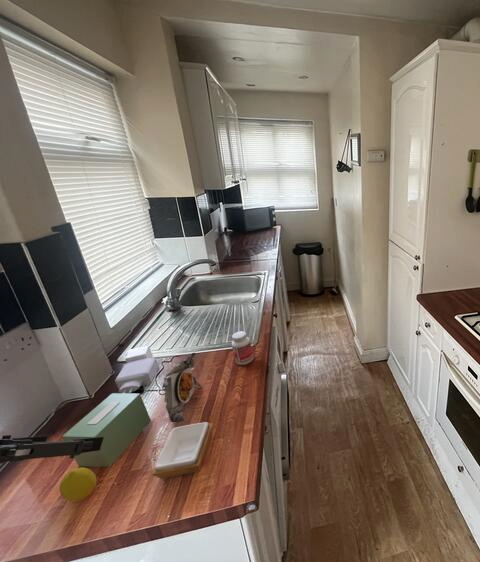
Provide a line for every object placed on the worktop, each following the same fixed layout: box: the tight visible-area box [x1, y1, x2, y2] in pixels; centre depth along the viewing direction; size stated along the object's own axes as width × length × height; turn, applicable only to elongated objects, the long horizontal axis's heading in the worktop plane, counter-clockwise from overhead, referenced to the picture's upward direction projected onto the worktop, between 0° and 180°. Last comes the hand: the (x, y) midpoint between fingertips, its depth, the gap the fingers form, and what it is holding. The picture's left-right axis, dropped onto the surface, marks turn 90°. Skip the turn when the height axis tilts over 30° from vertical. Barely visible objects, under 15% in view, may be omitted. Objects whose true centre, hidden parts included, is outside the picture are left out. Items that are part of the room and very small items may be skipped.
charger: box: [114, 357, 160, 394], centre depth 101 cm, size 5×9×15 cm
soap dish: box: [151, 421, 214, 480], centre depth 75 cm, size 12×10×5 cm
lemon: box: [59, 466, 98, 503], centre depth 66 cm, size 6×6×8 cm
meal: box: [161, 352, 202, 424], centre depth 91 cm, size 15×4×13 cm, turn 9°
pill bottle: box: [231, 330, 254, 366], centre depth 110 cm, size 6×6×11 cm
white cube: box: [124, 345, 154, 364], centre depth 110 cm, size 6×6×6 cm
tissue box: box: [61, 392, 152, 468], centre depth 79 cm, size 8×14×10 cm, turn 178°
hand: (72, 443), depth 69 cm, fingers open, 13 cm apart
